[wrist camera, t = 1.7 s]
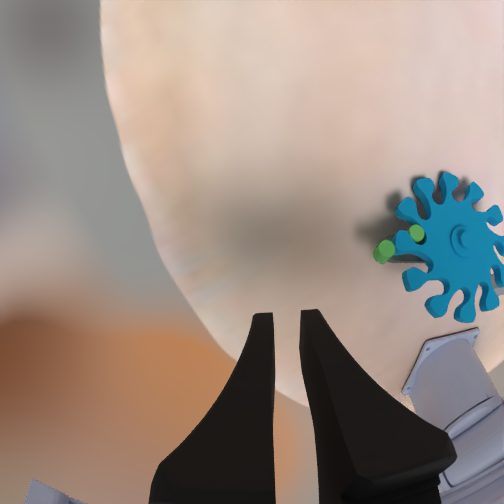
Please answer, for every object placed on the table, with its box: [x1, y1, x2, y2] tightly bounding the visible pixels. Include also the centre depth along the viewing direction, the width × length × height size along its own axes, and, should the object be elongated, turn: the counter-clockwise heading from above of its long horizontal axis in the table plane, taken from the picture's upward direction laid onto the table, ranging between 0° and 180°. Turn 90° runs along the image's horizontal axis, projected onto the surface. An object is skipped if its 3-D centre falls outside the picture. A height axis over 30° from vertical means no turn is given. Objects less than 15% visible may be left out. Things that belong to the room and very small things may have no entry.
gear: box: [373, 172, 504, 323], centre depth 17 cm, size 11×6×10 cm
